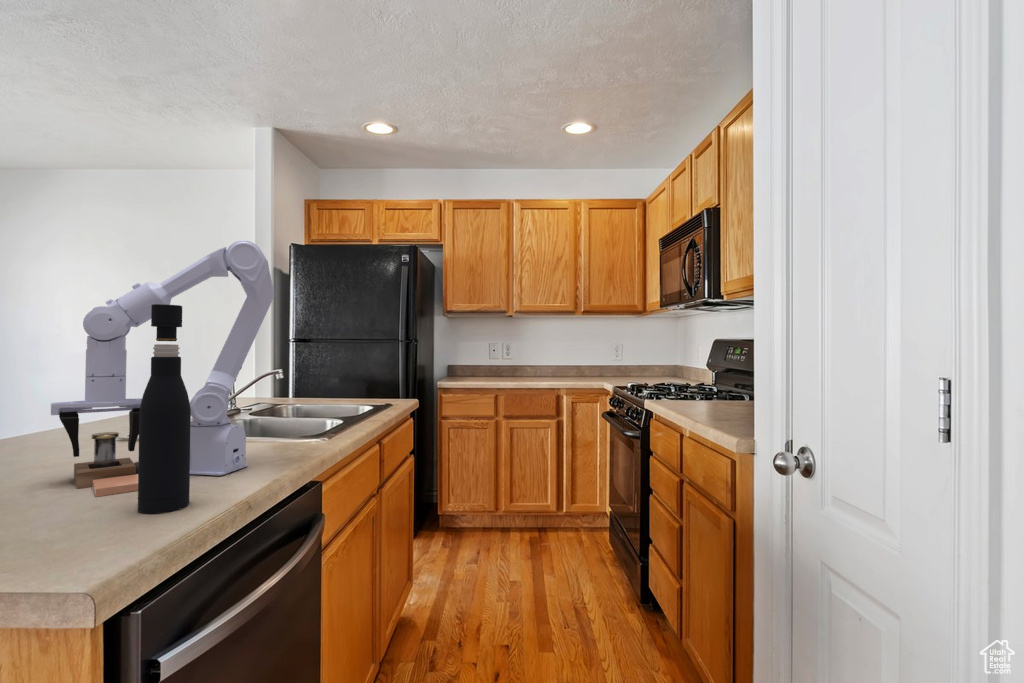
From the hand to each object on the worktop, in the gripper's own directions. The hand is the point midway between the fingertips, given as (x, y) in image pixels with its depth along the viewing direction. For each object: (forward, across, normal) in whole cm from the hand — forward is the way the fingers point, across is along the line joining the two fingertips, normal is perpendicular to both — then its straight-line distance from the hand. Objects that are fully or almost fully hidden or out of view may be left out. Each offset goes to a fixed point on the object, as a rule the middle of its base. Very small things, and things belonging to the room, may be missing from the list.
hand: (104, 453), depth 93 cm
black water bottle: (+5, -5, +24) cm, 25 cm away
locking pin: (+5, 0, 0) cm, 5 cm away
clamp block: (+5, -1, 0) cm, 5 cm away
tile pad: (+5, -2, +8) cm, 10 cm away
